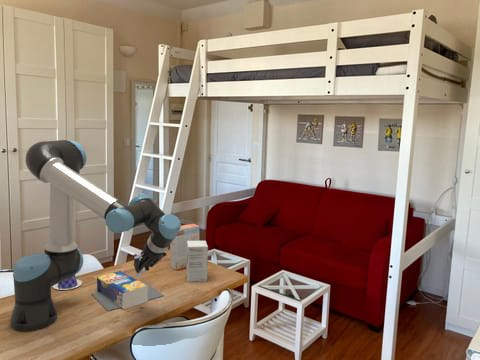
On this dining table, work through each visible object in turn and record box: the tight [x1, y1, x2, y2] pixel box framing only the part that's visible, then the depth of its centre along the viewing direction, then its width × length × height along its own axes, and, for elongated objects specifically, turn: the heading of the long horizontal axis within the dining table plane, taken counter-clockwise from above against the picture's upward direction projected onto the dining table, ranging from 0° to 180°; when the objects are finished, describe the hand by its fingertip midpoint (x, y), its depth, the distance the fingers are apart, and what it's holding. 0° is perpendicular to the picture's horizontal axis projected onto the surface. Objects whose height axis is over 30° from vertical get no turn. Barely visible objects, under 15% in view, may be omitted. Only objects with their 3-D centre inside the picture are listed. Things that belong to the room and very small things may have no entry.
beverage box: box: [96, 270, 149, 310], centre depth 169 cm, size 7×11×22 cm
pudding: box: [52, 274, 83, 291], centre depth 179 cm, size 12×12×5 cm
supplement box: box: [185, 240, 209, 283], centre depth 191 cm, size 10×9×17 cm
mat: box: [91, 281, 165, 312], centre depth 171 cm, size 24×18×1 cm
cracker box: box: [169, 223, 200, 271], centre depth 205 cm, size 14×6×21 cm, turn 130°
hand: (137, 274), depth 162 cm, fingers closed
